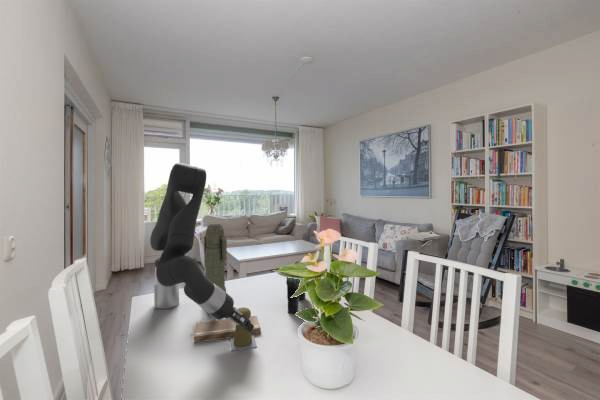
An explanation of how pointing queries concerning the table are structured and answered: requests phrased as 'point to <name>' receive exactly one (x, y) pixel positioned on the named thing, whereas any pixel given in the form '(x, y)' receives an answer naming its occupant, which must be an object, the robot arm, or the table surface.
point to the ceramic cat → (291, 288)
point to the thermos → (215, 254)
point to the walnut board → (220, 329)
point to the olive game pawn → (242, 331)
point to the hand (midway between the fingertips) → (247, 326)
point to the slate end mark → (252, 345)
